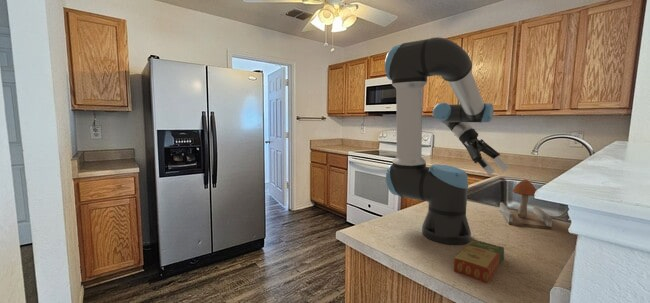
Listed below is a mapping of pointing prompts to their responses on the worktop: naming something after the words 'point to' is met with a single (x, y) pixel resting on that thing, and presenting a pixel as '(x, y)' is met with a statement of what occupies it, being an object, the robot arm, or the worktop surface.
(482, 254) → the carton
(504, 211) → the track
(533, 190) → the mushroom
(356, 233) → the worktop surface
